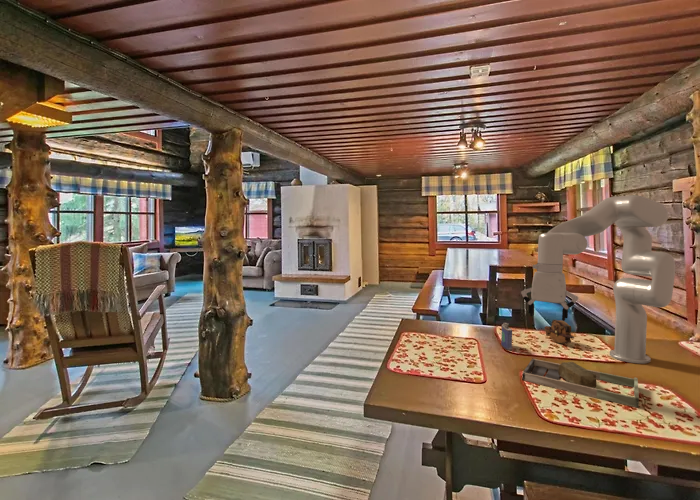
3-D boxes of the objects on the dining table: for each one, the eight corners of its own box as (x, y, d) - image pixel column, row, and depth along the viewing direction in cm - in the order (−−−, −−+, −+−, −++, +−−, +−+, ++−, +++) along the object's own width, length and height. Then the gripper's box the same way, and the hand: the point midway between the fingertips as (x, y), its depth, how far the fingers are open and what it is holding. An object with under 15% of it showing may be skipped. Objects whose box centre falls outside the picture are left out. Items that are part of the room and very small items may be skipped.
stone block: (571, 374, 121) (572, 360, 121) (598, 390, 110) (599, 375, 110) (556, 374, 121) (557, 361, 120) (581, 391, 110) (582, 376, 109)
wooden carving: (540, 337, 164) (540, 316, 163) (549, 336, 164) (549, 315, 164) (568, 349, 147) (568, 326, 147) (577, 348, 148) (578, 325, 148)
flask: (512, 350, 146) (513, 325, 145) (505, 350, 147) (505, 325, 146) (506, 343, 155) (506, 320, 155) (499, 343, 156) (499, 320, 155)
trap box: (532, 364, 131) (532, 357, 131) (637, 387, 112) (637, 378, 112) (522, 379, 118) (522, 371, 118) (638, 407, 99) (638, 397, 99)
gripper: (519, 267, 121) (518, 315, 122) (578, 271, 111) (576, 324, 112) (524, 266, 127) (522, 312, 128) (580, 269, 117) (578, 319, 118)
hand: (547, 317), depth 120 cm, fingers open, 9 cm apart
